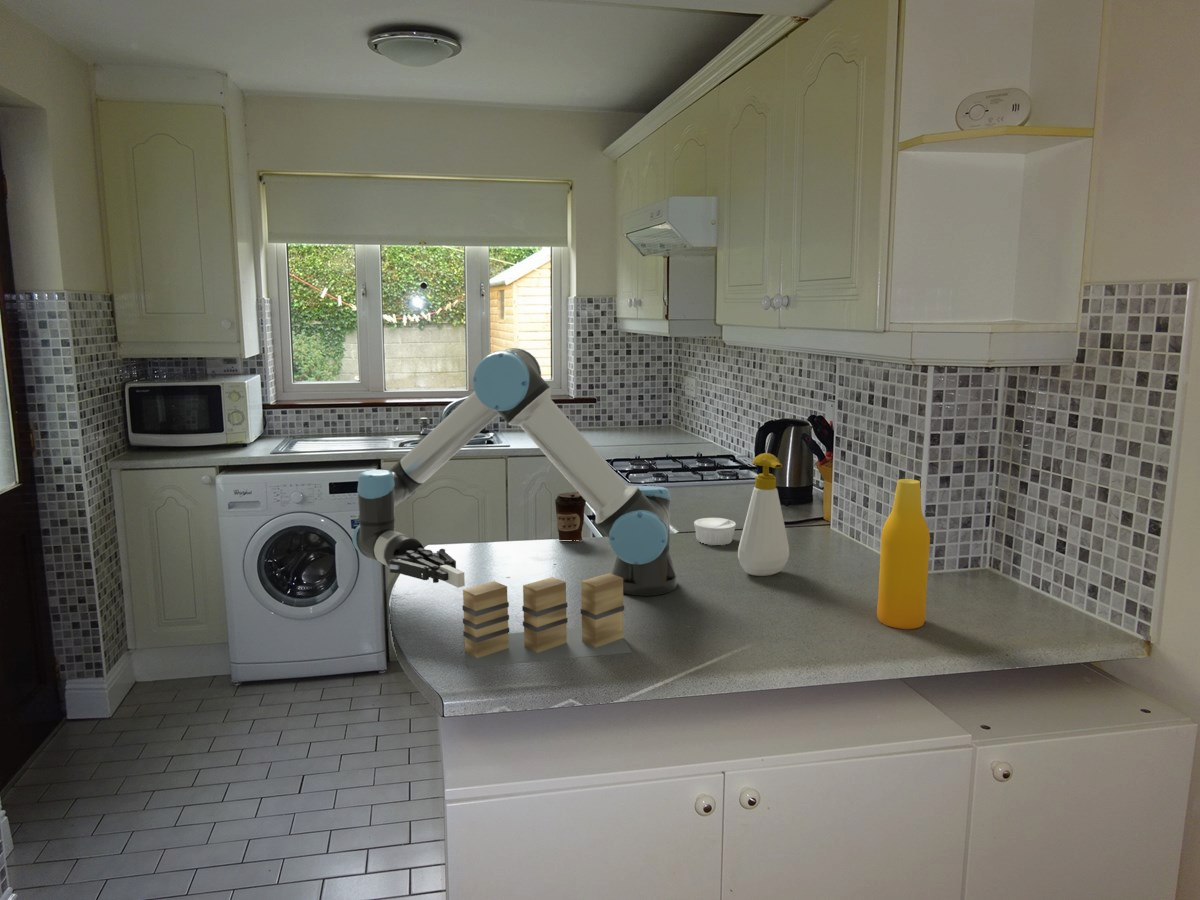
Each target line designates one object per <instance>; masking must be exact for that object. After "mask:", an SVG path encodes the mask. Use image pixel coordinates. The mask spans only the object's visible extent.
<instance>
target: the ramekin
mask: <svg viewBox="0 0 1200 900" xmlns="http://www.w3.org/2000/svg"><path fill="white" fill-rule="evenodd" d="M693 526H694V530H695V531H694V532H695V537H696V540H697V542H698V543H700V542H701V544H702V543H704V544H703V545H705V544H709V545H708V546H712V545H721V546H726V544H727V545H729V544H731V542H732V541H733V540H734V536H735V535H734V534H735V529H736V527H737V523H736V522H735V521H734V520H732V519H731V520H730V519H728V518H724V517H723V518H722V517H702V518H698V519H696V520H694V521H693Z"/></svg>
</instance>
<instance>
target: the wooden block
mask: <svg viewBox="0 0 1200 900" xmlns="http://www.w3.org/2000/svg"><path fill="white" fill-rule="evenodd" d="M522 598H523V599H522V601H523V605H522V606H521V607H522V612H523V621H522V627H523V632H524V647H526V648H528V649H530V650H532V651H535V652H537V653H539V652H542V651H544V650H547V649H550V648H553V647H556V646H559V645H562V644H565V643H567V629H568V628H567V625H568V624H567V623H568V622H569V621H568V617H567V608H568V602H567V582H566V581H564V580H561V579H559V578H556V577H554V576H551V577H548V578H544V579H541V580H537V581H534V582H530V583H526V584H523V585H522Z"/></svg>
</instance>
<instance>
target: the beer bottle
mask: <svg viewBox="0 0 1200 900" xmlns="http://www.w3.org/2000/svg"><path fill="white" fill-rule="evenodd" d="M894 492H895V493H894V500H893V505H892V508H891V512H890V513H889V516H888V517H887V519H886V521H885V522H884V525H883V528H882V532H881V537H880V557H879V558H880V559H879V576H878V594H877V598H878V599H877V607H876V615H877V619H878V621H879V622H880V623H881V624H883V625H885V626H887V627H890V628H894V629H899V630H901V629H902V630H915V629H919V628H921V627H922V626H924V624H925V621H926V615H927V612H926V611H927V609H926V608H927V595H928V593H927V592H928V590H927V589H928V576H929V561H930V548H931V547H930V545H931V537H930V536H931V535H930V534H931V533H930V529H929V526H928V524H927V521H926V519H925V517H924V514H923V509H922V508H923V507H922V493H921V481H920V480H916V479H910V478H900V479H898V480H897V481H896V487H895V491H894Z"/></svg>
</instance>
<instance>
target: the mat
mask: <svg viewBox="0 0 1200 900" xmlns="http://www.w3.org/2000/svg"><path fill="white" fill-rule="evenodd" d="M508 639H509V648H507V649H504V650H501V651H498V652H495V653H492V654H489V655H486V656H483V657H480V658H476V657H474V656H472V655H470V654H468V653H467V652H465V651H464V652H465V659H466V667H467V668H476V667H488V666H498V665H499V666H500V665H510V664H521V663H532V662H544V661H553V660H565V659H566V660H567V659H574V658H575V659H577V658H586V657H587V658H588V657H599V656H608V655H619V654H630V653H632V650H631V649H630V647H629V645H628V643H627V642H626V640H625V639H624V637H623V638H621V639H619V640H616V641H613V642H610V643H608V644H605V645H602V646H599V647H597V648H596V647H593V646H591V645H589V644H587V643H584V642H582V626H581V627H569V628H567V643H565V644H562V645H559V646H556V647H553V648H550V649H547V650H544V651H542V652H539V653H537V652H535V651H532V650H530V649H528V648H526V647H524V631H521V632H509V633H508ZM463 643H464V645H463V646H464V647H465V637H464V636H463Z"/></svg>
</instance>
